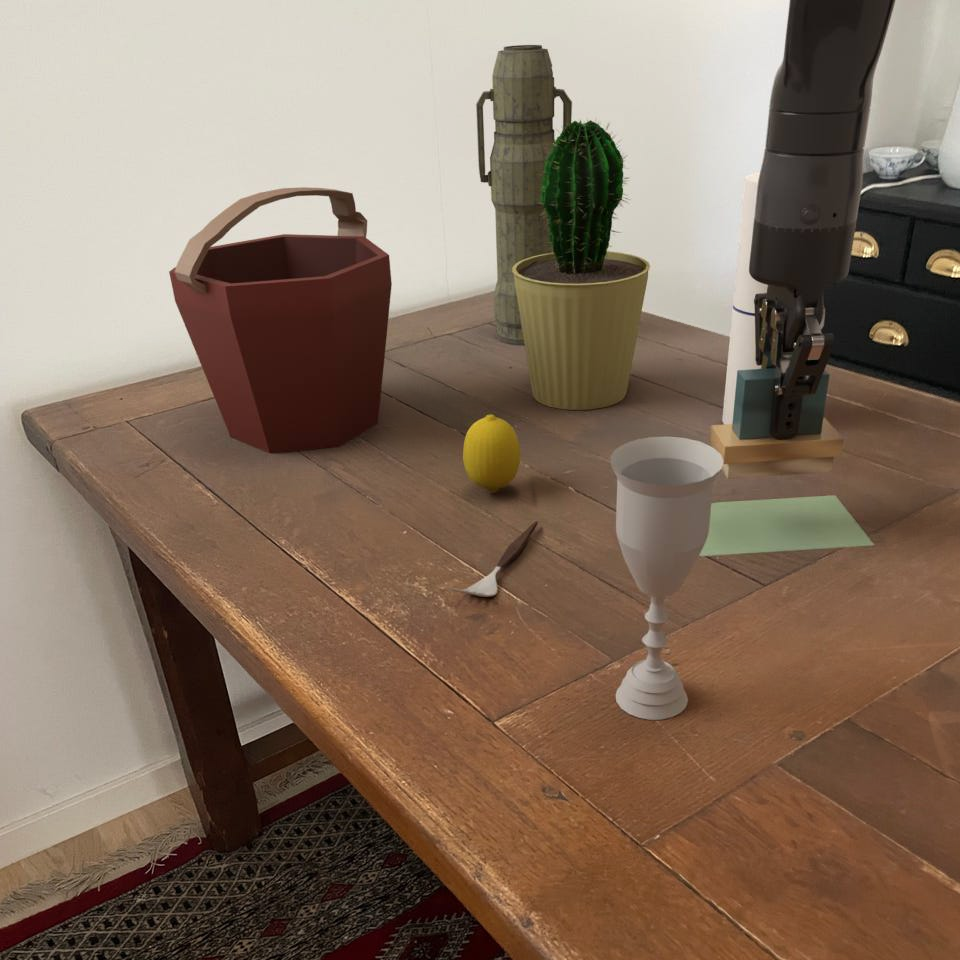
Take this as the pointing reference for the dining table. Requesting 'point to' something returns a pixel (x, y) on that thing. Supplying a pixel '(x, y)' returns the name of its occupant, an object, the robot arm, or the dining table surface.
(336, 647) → the dining table surface
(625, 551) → the chalice
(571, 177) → the potted cactus
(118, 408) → the dining table surface
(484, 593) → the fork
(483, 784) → the dining table surface
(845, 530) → the mat
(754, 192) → the cylindrical container
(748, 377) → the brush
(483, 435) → the lemon
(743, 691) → the dining table surface
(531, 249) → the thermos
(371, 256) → the bucket
